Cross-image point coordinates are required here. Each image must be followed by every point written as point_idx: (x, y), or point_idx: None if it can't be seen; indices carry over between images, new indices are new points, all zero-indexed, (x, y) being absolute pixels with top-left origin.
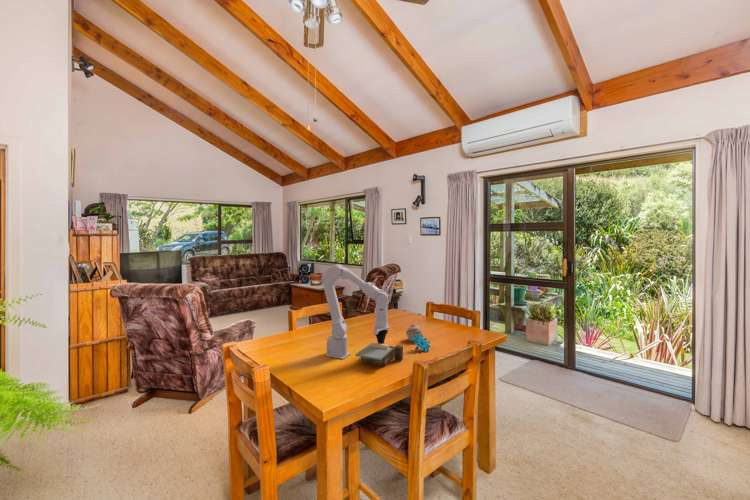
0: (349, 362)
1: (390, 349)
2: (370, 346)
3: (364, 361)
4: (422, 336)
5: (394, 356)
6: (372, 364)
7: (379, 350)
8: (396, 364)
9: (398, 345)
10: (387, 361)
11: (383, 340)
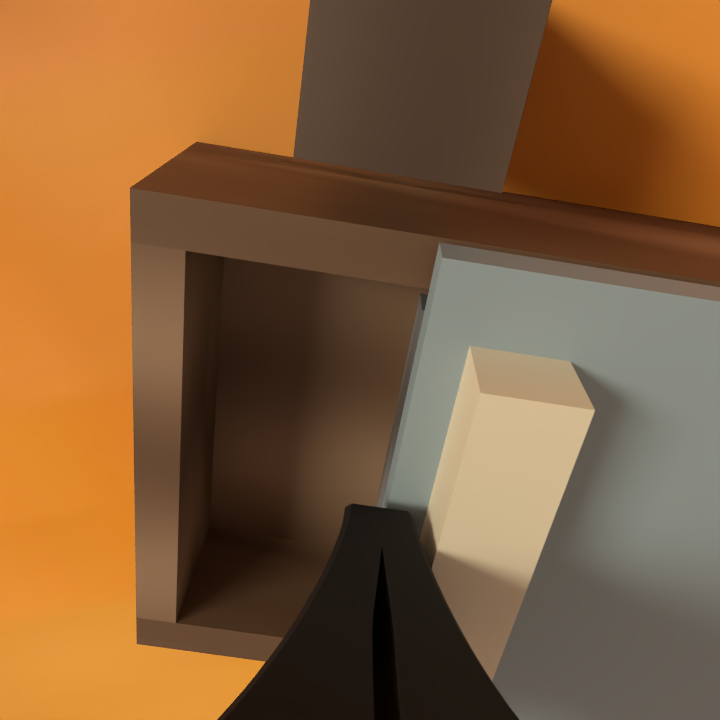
0: None
1: (579, 288)
2: None
3: None
4: None
5: (296, 163)
6: None
7: (688, 507)
8: (671, 38)
9: (314, 102)
10: (709, 238)
11: (420, 602)
